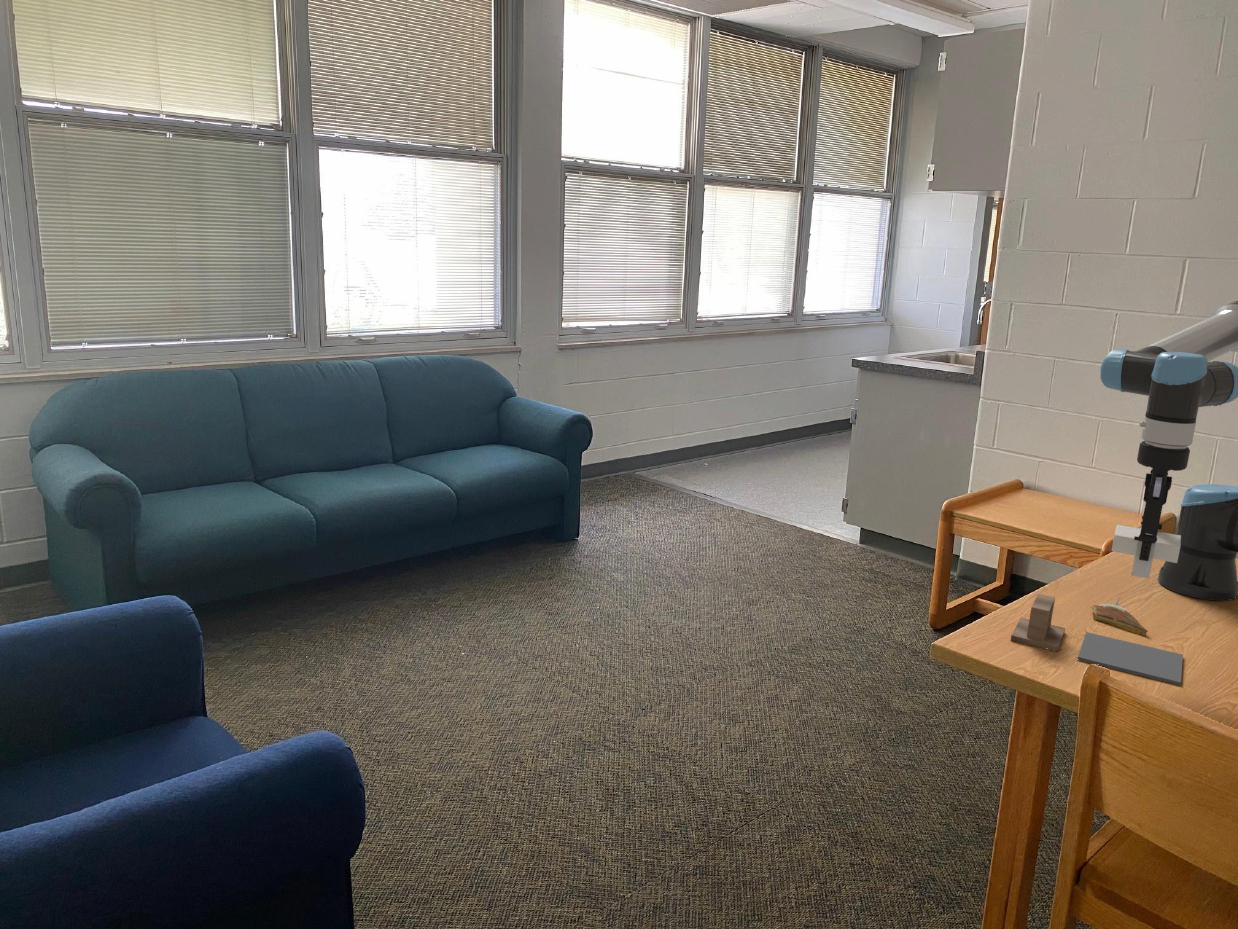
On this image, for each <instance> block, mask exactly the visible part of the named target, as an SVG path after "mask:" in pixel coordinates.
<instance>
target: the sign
mask: <svg viewBox="0 0 1238 929" xmlns="http://www.w3.org/2000/svg"><path fill="white" fill-rule="evenodd" d="M1120 599H1121V595H1120V596H1119V597H1118V598H1117V600H1116V602H1115V604H1112V603H1101V604H1099V605H1098V606H1110V607H1116V608H1119V609H1122V610H1126V611H1127V612H1128V609H1127V608H1125V607H1123V606H1120V605H1118V603H1119V602H1120Z"/></svg>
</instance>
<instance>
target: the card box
mask: <svg viewBox="0 0 1238 929" xmlns="http://www.w3.org/2000/svg"><path fill="white" fill-rule="evenodd" d="M1140 533H1141V529H1140V528H1139V527H1133V526H1126V525H1121V524H1116V527H1115V531H1114V536H1113V540H1112V546H1111V552H1115V553H1120V554H1126V555H1131V556H1135V554H1136V548H1137V543H1138V541H1137V540H1134V537H1135V536H1136V537H1139V535H1140ZM1149 535H1151V534H1149ZM1180 545H1181V536H1180V535H1176V534H1175V533H1167V532H1163V531H1162V532H1161V531H1158V532H1157V541H1156V546H1155V551H1154V556H1153V559H1154V560H1158V561H1163V562H1165V561H1168V562H1174V563H1177V561H1178V556H1179V551H1180Z"/></svg>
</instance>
